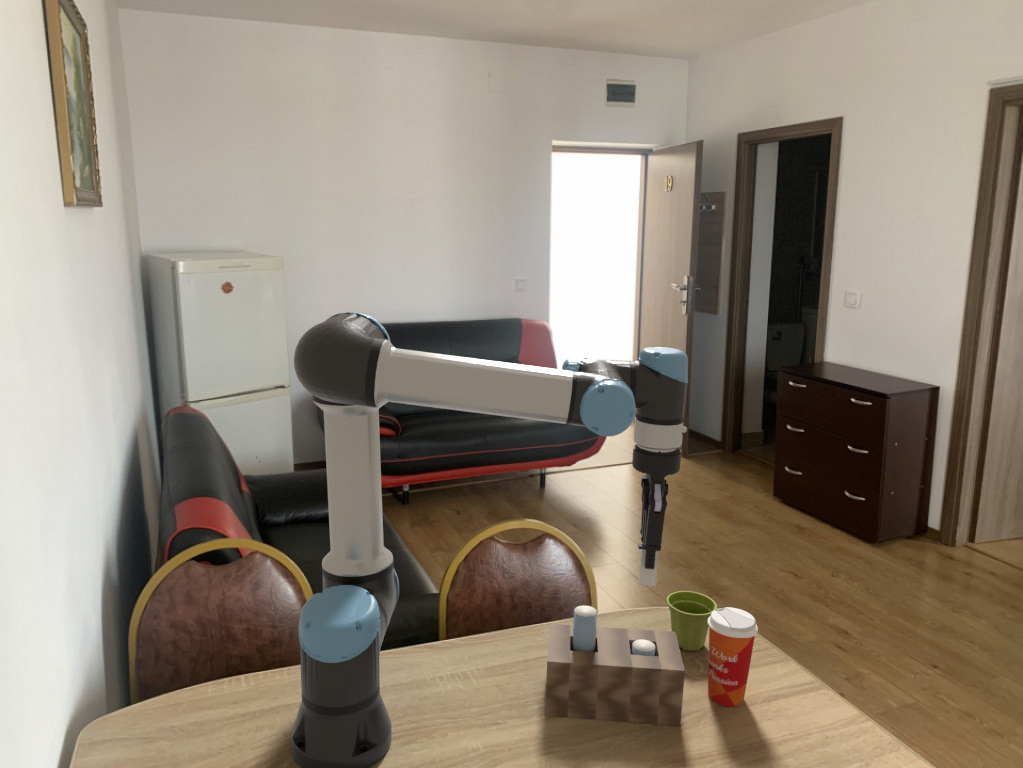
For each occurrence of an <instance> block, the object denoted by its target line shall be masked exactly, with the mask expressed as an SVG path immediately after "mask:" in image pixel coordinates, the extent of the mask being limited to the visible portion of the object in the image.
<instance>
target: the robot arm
mask: <svg viewBox="0 0 1023 768" xmlns="http://www.w3.org/2000/svg"><path fill="white" fill-rule="evenodd" d="M688 358H689V357H688V355H687V354H686V353H685V352H684V351H683V350H680V349H678V348H671V347H664V346H662V347H661V346H654V347H644V348H642V349H641V350H640V353H639V356H638V358H637V359H636V360H634V359H633V360H615V359H613V360H612V359H596V358H595V359H594V358H587V357H582V358H568V359H565V360H564V361H563V363H562V367H561V368H560V369H559V368H552V367H544V366H537V365H529V364H522V363H521V364H520V363H515V362H514V363H513V362H505V361H498V360H490V359H484V358H482V359H481V358H475V357H466V356H458V355H452V354H443V353H435V352H428V351H419V350H412V349H405V348H399V347H398V348H397V347H395V346H394V345H393V344H392V342H391V338H390V335H389V333H388V332H387V329H386V328H385V327H384V325H382V323H381V322H379V320H377V319H376V318H374V317H373V316H371V315H369V314H366V313H363V312H359V311H358V312H357V311H348V312H340V313H336V314H332V315H331V316H330V317H329V318H327V319H326V320H324V321H322V322H320V323H317V324H315V325H313V326H312V327H310V328H309V329H308V330H307V331H306V332H304V333H303V335H302V336H301V337H300V339H299V340H298V343H297V344H296V347H295V350H294V355H293V368H294V372H295V374H296V377H297V379H298V381H299V383H300V384H301V386H302V387H303V388H304V389H306V391H307V392H308V393H309V394H311V395H312V402H313V403H314V404H315V405H316V407H318V408H319V409H320V410H321V411H323V422H324V423H323V426H324V444H325V445H324V446H325V463H326V483H327V484H326V485H327V501H328V502H327V503H328V504H327V505H328V523H329V524H328V526H329V542H330V545H329V546H330V550H329V552H328V553H327V554H326V555H325V556H324V557H323V558H322V561H321V569H322V570H321V572H322V592H317V593H314V594H313V595H312V596H310V597H309V599H307V600H306V602H305V603H304V604H303V606H302V608H301V611H300V614H299V623H298V633H297V636H298V641H299V657H300V661H299V662H300V663H299V664H300V681H301V682H300V685H301V686H300V687H301V688H300V689H301V701H300V706H299V708H298V711H297V714H296V718H295V721H294V724H293V727H292V728H291V729H292V730H291V735H290V747H291V748H290V749H291V750H290V751H291V755H292V758H293V759H294V761H295V762H296V763H297V765H299V766H300V767H301V768H369V767H372V766H373V765H374V764H376V763H377V762H378V761H380V760H381V759H382V758H384V756H385V755H386V753H387V752H388V751H389V749H390V746H391V745H392V737H393V735H392V732H393V731H392V722H391V721H392V720H391V718H390V715H389V712H388V709H387V708H386V704H385V702H384V700H383V697H382V695H381V691H380V690H381V689H380V688H381V687H380V683H381V682H380V679H381V678H380V676H381V675H380V673H381V672H380V658H381V657H380V654H381V647H382V646H383V645H382V644H383V642H384V637H385V636H386V632H387V630H388V627H389V624H390V621H391V618H392V615H393V613H394V612H395V609H396V606H397V603H398V601H399V597H400V581H399V577H398V575H397V572H396V569H395V567H394V555H393V553H392V552H391V550H389V549H388V548H386V547H385V545H384V526H383V525H384V524H383V522H384V521H383V497H382V493H383V492H382V471H381V470H382V469H381V465H382V463H381V462H382V461H381V442H380V441H381V440H380V439H381V437H380V416H379V415H380V414H379V413H380V411H379V410H380V408H382V407H383V406H384V405H386V404H387V403H389V402H390V403H397V404H405V405H413V406H420V407H428V408H429V407H430V408H435V409H445V410H451V411H452V410H453V411H461V412H468V413H477V414H484V415H492V416H493V415H494V416H501V417H507V418H516V419H524V420H533V421H541V422H548V423H556V424H565V425H570V426H571V425H572V426H575V427H576V426H579V427H586V428H587V430H589V431H590V432H592V433H594V434H596V435H598V436H602V437H615V436H618V435H620V434H622V433H623V432H625V431H627V429H628V428H629V427H630V426H631V425H632V424H633V421H634V429H633V430H634V431H633V442H634V443H635V445H634V446H633V448H632V464H631V466H632V467H633V469H634V470H635V471H637V472H639V473H642V474H644V475H642V476H641V478H640V480H641V481H640V485H641V488H642V489H641V499H640V500H641V503H642V504H641V518H640V519H641V521H640V529H639V532H640V535H641V537H640V541H641V543H638V544H637V547H638V550H640V556H639V569H638V585H639V586H651V587H656V586H657V576H658V575H657V573H658V563H659V562H658V561H659V552H661V550H662V541H663V540H662V538H663V531H664V523H665V515H666V509H667V506H668V501H667V496H668V494H669V483H667V478H665V477H667V476H673V475H676V474H677V473H678V472H680V469H681V462H682V461H681V460H682V449H681V448H680V447H682V444H683V434H684V433H687V431H688V428H687V426H684V420H685V419H684V418H685V409H686V399H687V398H686V397H687V389H688V384H689V378H688V374H689V359H688ZM682 433H683V434H682Z"/></svg>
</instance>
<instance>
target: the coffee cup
mask: <svg viewBox="0 0 1023 768" xmlns="http://www.w3.org/2000/svg"><path fill="white" fill-rule="evenodd" d="M708 625H709V627H708V632H709V634H708V660H707V662H708V668H707V676H708V677H707V694H708V697H709V699H710V700H711V701H712V702H713V703H715V704H717V705H719V706H722V707H725V708H726V707H727V708H735V707H739V706H740V705H742V704H743V703H744V700H745V695H746V689H747V684H748V678H749V675H750V674H749V673H750V667H751V661H752V655H753V648H754V643H755V637H756V635H757V633H758V631H759V628H758V627H759V626H758V625H757V622H756V619H755V617H754V616H753V614H751V613H750V612H748V611H746V610H743V609H741V608H735V607H731V606H729V607H728V606H727V607H725V606H724V607H722V608H717V609H716V611H715V610H714V611H713V612H712V613H711V616H710V617H709V618H708Z"/></svg>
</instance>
